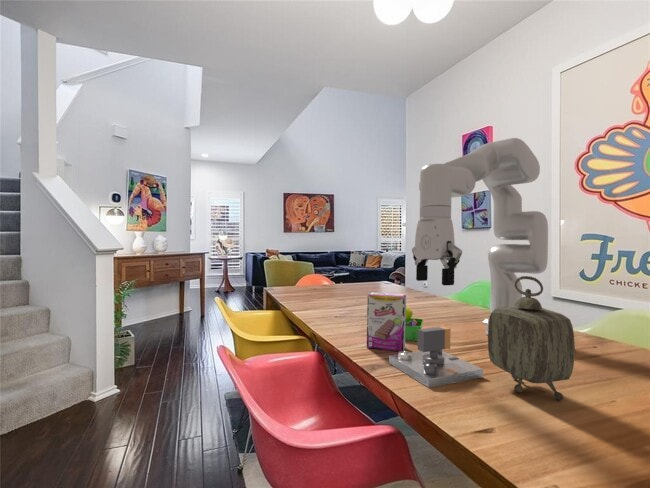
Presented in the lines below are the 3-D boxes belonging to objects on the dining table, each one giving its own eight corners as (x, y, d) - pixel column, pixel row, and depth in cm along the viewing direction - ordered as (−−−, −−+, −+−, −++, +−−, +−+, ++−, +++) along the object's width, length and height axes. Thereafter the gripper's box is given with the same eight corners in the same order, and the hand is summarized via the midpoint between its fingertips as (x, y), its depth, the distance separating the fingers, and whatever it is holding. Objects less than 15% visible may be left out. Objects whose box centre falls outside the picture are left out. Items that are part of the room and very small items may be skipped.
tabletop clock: (574, 403, 67) (576, 279, 67) (539, 410, 65) (541, 281, 64) (514, 375, 81) (515, 272, 81) (483, 379, 78) (485, 273, 78)
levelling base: (388, 363, 89) (389, 348, 89) (437, 355, 95) (437, 341, 95) (428, 387, 74) (428, 369, 74) (482, 377, 80) (483, 360, 80)
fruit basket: (421, 342, 107) (421, 307, 107) (393, 339, 110) (393, 305, 110) (423, 333, 118) (423, 301, 118) (397, 331, 121) (397, 299, 120)
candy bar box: (366, 348, 101) (366, 294, 100) (369, 343, 105) (369, 291, 105) (404, 352, 97) (404, 296, 97) (405, 347, 102) (406, 293, 102)
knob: (414, 359, 85) (414, 327, 85) (439, 355, 88) (440, 325, 88) (427, 366, 80) (427, 333, 80) (454, 362, 83) (454, 330, 83)
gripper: (402, 216, 90) (401, 279, 91) (447, 211, 74) (446, 287, 75) (425, 217, 93) (424, 278, 93) (473, 212, 77) (472, 286, 77)
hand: (434, 282), depth 84 cm, fingers open, 9 cm apart
